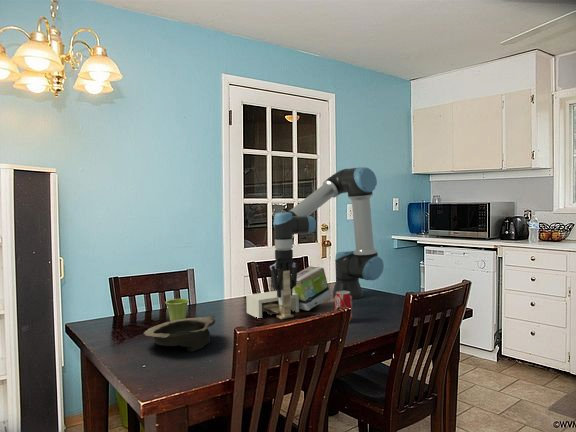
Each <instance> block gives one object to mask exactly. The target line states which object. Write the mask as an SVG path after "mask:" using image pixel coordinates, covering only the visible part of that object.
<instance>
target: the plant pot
mask: <svg viewBox="0 0 576 432" xmlns="http://www.w3.org/2000/svg"><path fill="white" fill-rule="evenodd" d="M188 303H189V299H186V298H175V299H174V298H173V299H169V300H166V301H165V304H166V307H167V309H168V310H167V311H168V316H169V322H170V321H174V320H181V319H186V317H187V307H188Z"/></svg>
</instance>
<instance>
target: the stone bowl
mask: <svg viewBox="0 0 576 432" xmlns="http://www.w3.org/2000/svg"><path fill="white" fill-rule="evenodd" d="M215 317H216V316H215V315H209V316H204V317H201V316H200V317H188V318H186V319H181V320H174V321H170V320H169V321H166V322H163V323H160V324H157V325H154V326H152V327H149V328H148V329H147V330H145V331H144V332H143V334H144V335H145V336H146V337H153V339H154V342H155V343H156V344H157V345H159V346H165V347H177V346H180V347H182V348H183V347H186V348H185V349H186V350H187V352H191V353H192V352H196V351H197V350H201V349H202V348H204V347H206V345H208V344H209V343H210V341H211V333H210V332H211V331H210V330H209V329H208V328H209V327H213V326H214V325H215V323H216V319H215Z"/></svg>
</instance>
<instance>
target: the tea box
mask: <svg viewBox="0 0 576 432" xmlns="http://www.w3.org/2000/svg"><path fill="white" fill-rule="evenodd" d="M291 277H292V275H291ZM327 280H328V279H327V276H326V272H325V269H324V267H320V266H319V267H318V266H308V267H306V268H304V269H302V270H300V271H299V272H297V283H296V286H294V288H293V289H292V293H295V294H298V295H299V310H303V311H310V310H311V309H313V308H314V307H316V306H317V305H319V304H321V303H322V302H324V301H326V300H327V299H329V298H331V296H332V294H331V292H330V287H329V284H328V281H327Z"/></svg>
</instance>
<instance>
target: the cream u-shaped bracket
mask: <svg viewBox="0 0 576 432" xmlns="http://www.w3.org/2000/svg"><path fill="white" fill-rule="evenodd" d="M245 296H246V297H245V298H246V299H245V300H246V314H248V315H250V316H252V317H254V318H256V317H257V319H258V318H262V319H263V304H266V303H271V302H272V303H273V302H279V297H277V290H273V291H266V292H260V293H259V292H258V293H251V294H246V295H245ZM290 309H291V310H292V312H294V311H295V313H299V312H300V309H299V295H298V294H295V293H292V296H291V304H290Z"/></svg>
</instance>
